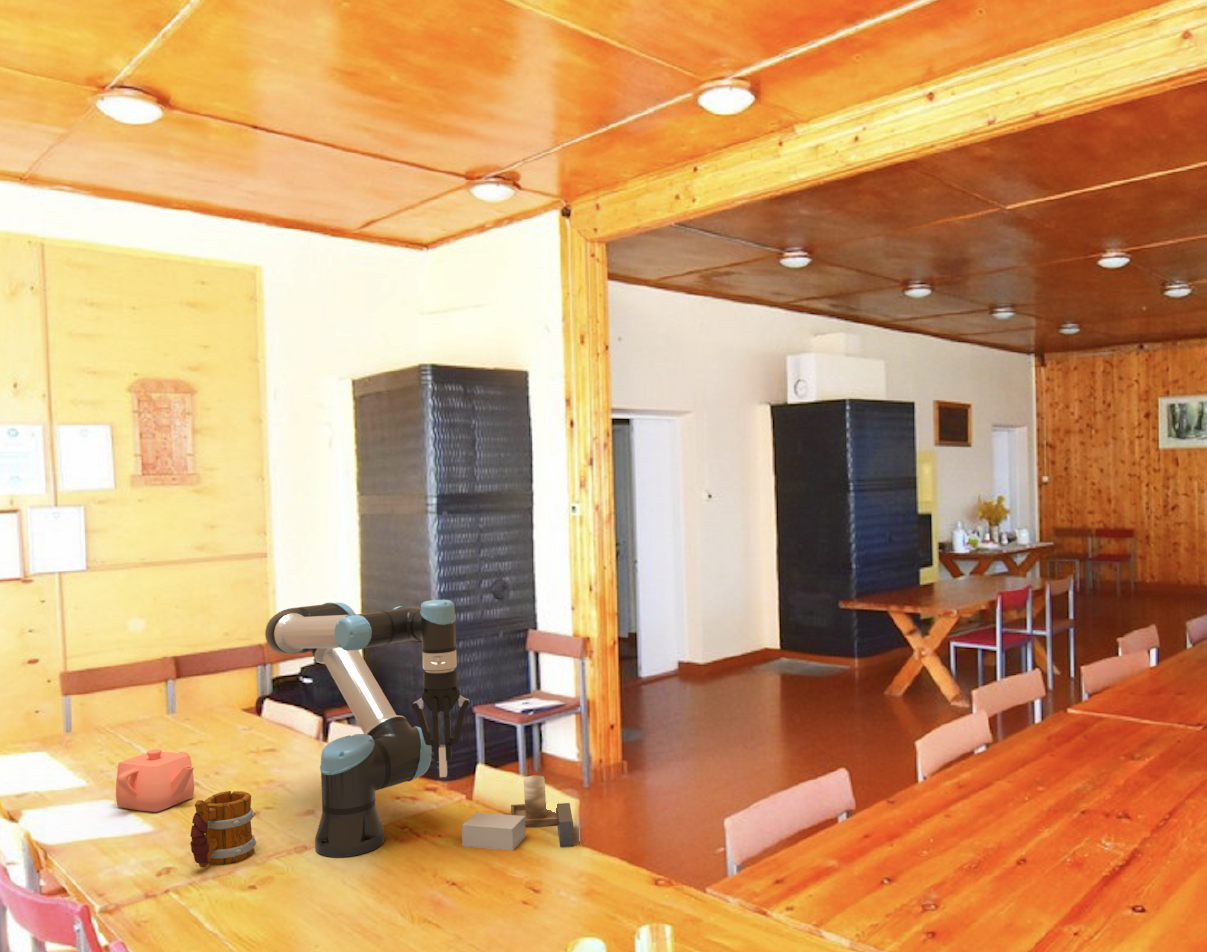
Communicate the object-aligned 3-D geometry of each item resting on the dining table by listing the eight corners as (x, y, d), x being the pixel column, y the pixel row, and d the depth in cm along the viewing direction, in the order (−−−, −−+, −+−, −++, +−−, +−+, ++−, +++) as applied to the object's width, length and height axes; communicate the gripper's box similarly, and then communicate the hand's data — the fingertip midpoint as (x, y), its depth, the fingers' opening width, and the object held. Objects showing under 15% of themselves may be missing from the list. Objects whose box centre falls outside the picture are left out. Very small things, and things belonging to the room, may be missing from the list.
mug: (266, 848, 211) (264, 781, 212) (214, 878, 196) (212, 806, 196) (227, 843, 215) (225, 778, 215) (173, 872, 199) (171, 802, 200)
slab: (462, 847, 209) (461, 825, 209) (476, 834, 217) (476, 812, 217) (512, 851, 206) (512, 828, 206) (525, 838, 213) (525, 816, 213)
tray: (510, 828, 219) (510, 821, 219) (511, 811, 230) (510, 804, 230) (560, 825, 220) (560, 818, 220) (558, 808, 231) (558, 801, 231)
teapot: (98, 815, 237) (96, 760, 237) (168, 787, 258) (166, 737, 258) (156, 823, 230) (155, 766, 230) (224, 794, 250) (222, 742, 250)
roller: (526, 820, 222) (524, 782, 222) (525, 813, 227) (523, 776, 227) (547, 818, 223) (545, 780, 223) (545, 811, 228) (543, 774, 228)
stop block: (560, 847, 207) (559, 822, 207) (557, 827, 219) (556, 803, 219) (573, 846, 207) (572, 821, 207) (570, 826, 219) (569, 802, 219)
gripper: (408, 674, 206) (412, 782, 206) (468, 671, 207) (472, 778, 207) (412, 668, 213) (415, 772, 213) (470, 665, 215) (473, 768, 214)
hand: (443, 775), depth 210 cm, fingers closed
